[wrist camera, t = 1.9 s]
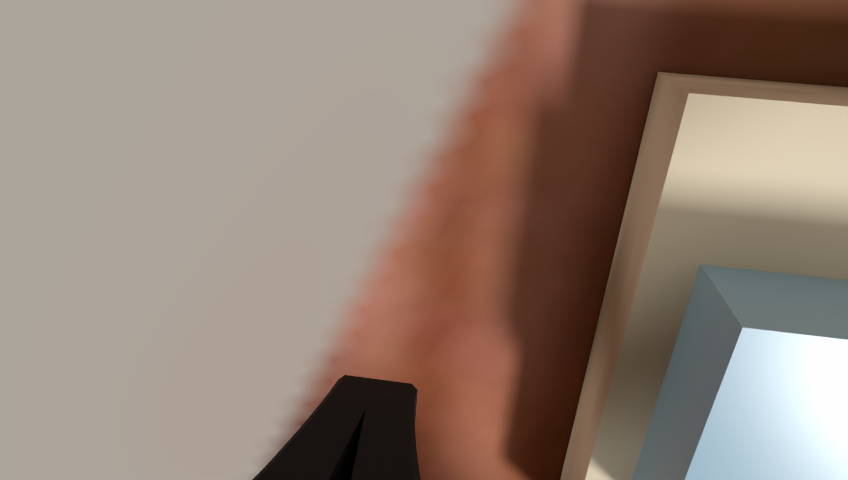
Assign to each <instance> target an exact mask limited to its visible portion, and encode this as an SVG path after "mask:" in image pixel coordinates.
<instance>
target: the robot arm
mask: <svg viewBox="0 0 848 480" xmlns="http://www.w3.org/2000/svg"><path fill="white" fill-rule="evenodd" d="M416 403H417V389H416V388H415V387H414V386H413V385H412V384H409V383H401V382H393V381H386V380H378V379H371V378H363V377H355V376H348V375H344V376H343V377H341V378H340V379H339V380H338V381H337V382H336V384H335V385H334V387H333V388H332V389H331V391H330V392H329V393H328V394H327V396H326V397H325V398H324V400H323V401H322V402H321V403H320V405H319V406H318V407H317V408H316V410H315V411H314V412H313V413H312V415H311V416H310V417H309V418H308V419H307V420H306V422H305V423H304V424H303V425H302V426H301V428H300V429H299V430H298V431H297V432H296V433H295V434H294V436H293V437H292V438H291V439H290V440H289V441H288V442H287V443H286V444H285V446H284V447H283V448H282V449H281V450H280V451H279V452H278V453H277V454H276V456H275V457H274V458H273V459H272V460H271V461H270V462H269V463H268V464H267V465H266V466H265V467H264V469H263V470H262V471H261V472H260V473H259V474H258V475H257V476H256V477H255V478H254V479H253V480H421V479H420V473H419V466H418V460H417V451H416V439H415V417H416Z"/></svg>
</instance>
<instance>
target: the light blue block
mask: <svg viewBox="0 0 848 480" xmlns="http://www.w3.org/2000/svg"><path fill="white" fill-rule="evenodd" d="M632 480H848V280H840V279H831V278H822V277H813V276H804V275H795V274H786V273H776V272H767V271H758V270H749V269H740V268H731V267H722V266H713V265H703V264H701V265H700V268H699V271H698V275H697V278H696V281H695V284H694V287H693V290H692V293H691V296H690V299H689V303H688V306H687V309H686V312H685V315H684V318H683V321H682V324H681V327H680V331H679V334H678V337H677V340H676V343H675V346H674V349H673V352H672V356H671V359H670V362H669V365H668V368H667V371H666V374H665V377H664V380H663V384H662V387H661V390H660V393H659V396H658V399H657V402H656V405H655V409H654V412H653V415H652V418H651V421H650V424H649V427H648V430H647V433H646V437H645V440H644V443H643V446H642V449H641V452H640V455H639V458H638V461H637V465H636V468H635V471H634V474H633V477H632Z"/></svg>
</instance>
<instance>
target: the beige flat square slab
mask: <svg viewBox="0 0 848 480" xmlns="http://www.w3.org/2000/svg"><path fill="white" fill-rule="evenodd" d="M701 264H703V265H713V266H722V267H731V268H740V269H749V270H758V271H767V272H776V273H786V274H795V275H804V276H813V277H822V278H831V279H840V280H848V87H837V86H825V85H813V84H801V83H789V82H776V81H764V80H752V79H740V78H728V77H715V76H703V75H691V74H679V73H667V72H658V74H657V78H656V82H655V86H654V90H653V95H652V99H651V103H650V107H649V111H648V115H647V120H646V124H645V128H644V132H643V136H642V140H641V145H640V149H639V153H638V157H637V161H636V165H635V170H634V174H633V178H632V182H631V186H630V190H629V195H628V199H627V203H626V207H625V211H624V215H623V220H622V224H621V228H620V232H619V236H618V240H617V245H616V249H615V253H614V257H613V261H612V265H611V270H610V274H609V278H608V282H607V286H606V290H605V295H604V299H603V303H602V307H601V311H600V315H599V320H598V324H597V328H596V332H595V336H594V340H593V345H592V349H591V353H590V357H589V361H588V365H587V370H586V374H585V378H584V382H583V386H582V390H581V395H580V399H579V403H578V407H577V411H576V415H575V420H574V424H573V428H572V432H571V436H570V440H569V445H568V449H567V453H566V457H565V461H564V465H563V470H562V474H561V478H560V480H632V477H633V474H634V471H635V468H636V465H637V461H638V458H639V455H640V452H641V449H642V446H643V443H644V440H645V437H646V433H647V430H648V427H649V424H650V421H651V418H652V415H653V412H654V409H655V405H656V402H657V399H658V396H659V393H660V390H661V387H662V384H663V380H664V377H665V374H666V371H667V368H668V365H669V362H670V359H671V356H672V352H673V349H674V346H675V343H676V340H677V337H678V334H679V331H680V327H681V324H682V321H683V318H684V315H685V312H686V309H687V306H688V303H689V299H690V296H691V293H692V290H693V287H694V284H695V281H696V278H697V275H698V271H699V268H700V265H701Z"/></svg>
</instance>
